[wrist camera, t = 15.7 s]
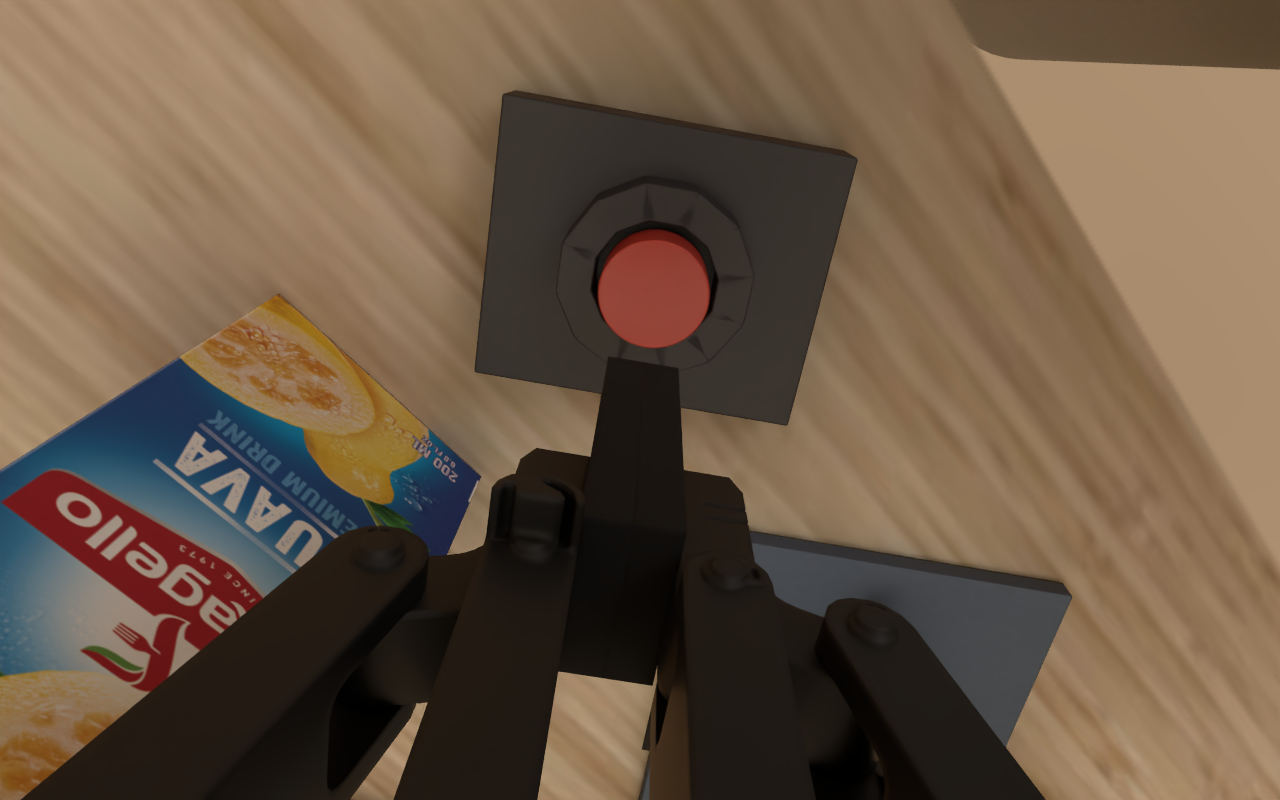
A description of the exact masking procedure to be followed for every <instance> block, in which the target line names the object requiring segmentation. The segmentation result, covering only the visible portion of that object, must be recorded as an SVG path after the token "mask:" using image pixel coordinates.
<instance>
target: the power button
mask: <svg viewBox="0 0 1280 800" xmlns="http://www.w3.org/2000/svg"><path fill="white" fill-rule="evenodd" d="M709 300H710V288H709V281H708V275H707V269H706V266H705V263H704V261H703V258H702V256H701V255H700V253H699V252H698V250H697V249H696V248H695V247H694V246H693V245H692V244H691V243H690V242H689V241H688V240H687V239H685V238H684V237H682V236H680V235H678V234H676V233H674V232H671V231H667V230H662V229H647V230H642V231H638V232H635V233H633V234H631V235H629V236H627V237H625V238H624V239H623V240H621V241H620V242H619V243H618V244H617V245H616V246H615V247H614V248H613V249H612V251H611V252H610V253H609V255H608V257H607V259H606V261H605V264H604V266H603V270H602V273H601V276H600V280H599V284H598V302H599V307H600V310H601V313H602V316H603V318H604V320H605V321H606V323H607V324H608V326H609V327H610V328H611V329H612V331H613V332H615V333H616V334H617V335H618V336H619V337H621V338H622V339H623V340H625V341H627V342H629V343H631V344H634V345H636V346H640V347H645V348H663V347H668V346H672V345H674V344H677V343H679V342H681V341H683V340H684V339H686V338H687V337H689V336H690V335H691V334H692V333H693V332H694V331H695V330H696V329H697V328H698V327H699V325H700V324H701V322H702V321H703V319H704V317H705V315H706V313H707V310H708V306H709Z"/></svg>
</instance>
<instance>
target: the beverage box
mask: <svg viewBox="0 0 1280 800" xmlns="http://www.w3.org/2000/svg"><path fill="white" fill-rule="evenodd" d="M480 478H481V476H480V475H479V474H478V473H477V472H475V471H474V470H473V469H472V468H471V467H470V466H469V465H468V464H467V463H465V462H464V461H463V460H462V459H461V458H460V457H459V456H458V455H457V454H456V453H454V452H453V451H452V450H451V449H450V448H449V447H448V446H447V445H446V444H444V443H443V442H442V441H441V440H440V439H439V438H438V437H437V436H436V435H435V434H433V433H432V432H431V431H430V430H429V429H428V428H427V427H426V426H425V425H423V424H422V423H421V422H420V421H419V420H418V419H417V418H416V417H415V416H413V415H412V414H411V413H410V412H409V411H408V410H407V409H406V408H405V407H404V406H402V405H401V404H400V403H399V402H398V401H397V400H396V399H395V398H394V397H392V396H391V395H390V394H389V393H388V392H387V391H386V390H385V389H384V388H383V387H381V386H380V385H379V384H378V383H377V382H376V381H375V380H374V379H373V378H371V377H370V376H369V375H368V374H367V373H366V372H365V371H364V370H363V369H362V368H360V367H359V366H358V365H357V364H356V363H355V362H354V361H353V360H352V359H350V358H349V357H348V356H347V355H346V354H345V353H344V352H343V351H342V350H341V349H339V348H338V347H337V346H336V345H335V344H334V343H333V342H332V341H331V340H329V339H328V338H327V337H326V336H325V335H324V334H323V333H322V332H321V331H319V330H318V329H317V328H316V327H315V326H314V325H313V324H312V323H311V322H310V321H308V320H307V319H306V318H305V317H304V316H303V315H302V314H301V313H300V312H298V311H297V310H296V309H295V308H294V307H293V306H292V305H291V304H290V303H289V302H287V301H286V300H285V299H284V298H283V297H282V296H281V295H280V294H278V295H276V296H275V297H273V298H272V299H270V300H268V301H267V302H265V303H264V304H262V305H260V306H259V307H257V308H256V309H254V310H253V311H251V312H249V313H248V314H246V315H245V316H243V317H241V318H240V319H238V320H237V321H235V322H234V323H232V324H230V325H229V326H227V327H226V328H224V329H222V330H221V331H219V332H218V333H216V334H215V335H213V336H211V337H210V338H208V339H207V340H205V341H203V342H202V343H200V344H199V345H197V346H196V347H194V348H192V349H191V350H189V351H188V352H186V353H184V354H183V355H181V356H180V357H178V358H177V359H175V360H173V361H172V362H170V363H169V364H167V365H165V366H164V367H162V368H161V369H159V370H158V371H156V372H154V373H153V374H151V375H150V376H148V377H146V378H145V379H143V380H142V381H140V382H139V383H137V384H135V385H134V386H132V387H131V388H129V389H127V390H126V391H124V392H123V393H121V394H120V395H118V396H116V397H115V398H113V399H112V400H110V401H108V402H107V403H105V404H104V405H102V406H101V407H99V408H97V409H96V410H94V411H93V412H91V413H89V414H88V415H86V416H85V417H83V418H82V419H80V420H78V421H77V422H75V423H74V424H72V425H70V426H69V427H67V428H66V429H64V430H63V431H61V432H59V433H58V434H56V435H55V436H53V437H51V438H50V439H48V440H47V441H45V442H44V443H42V444H40V445H39V446H37V447H36V448H34V449H32V450H31V451H29V452H28V453H26V454H25V455H23V456H21V457H20V458H18V459H17V460H15V461H13V462H12V463H10V464H9V465H7V466H6V467H4V468H2V469H1V470H0V800H21V799H22V798H23V797H24V796H25V795H27V794H28V793H29V792H30V791H31V790H33V789H34V788H35V787H36V786H37V785H39V784H40V783H41V782H42V781H43V780H45V779H46V778H47V777H48V776H49V775H51V774H52V773H53V772H54V771H56V770H57V769H58V768H59V767H60V766H62V765H63V764H64V763H65V762H66V761H68V760H69V759H70V758H71V757H72V756H74V755H75V754H76V753H77V752H78V751H80V750H81V749H82V748H83V747H84V746H86V745H87V744H88V743H89V742H90V741H92V740H93V739H94V738H95V737H96V736H98V735H99V734H100V733H101V732H103V731H104V730H105V729H106V728H107V727H109V726H110V725H111V724H112V723H113V722H115V721H116V720H117V719H118V718H119V717H121V716H122V715H123V714H124V713H125V712H127V711H128V710H129V709H130V708H131V707H133V706H134V705H135V704H136V703H137V702H139V701H140V700H141V699H142V698H143V697H145V696H146V695H147V694H148V693H149V692H151V691H152V690H153V689H154V688H156V687H157V686H158V685H159V684H160V683H162V682H163V681H164V680H165V679H166V678H168V677H169V676H170V675H171V674H172V673H174V672H175V671H176V670H177V669H178V668H180V667H181V666H182V665H183V664H184V663H186V662H187V661H188V660H189V659H190V658H192V657H193V656H194V655H195V654H196V653H198V652H199V651H200V650H201V649H202V648H204V647H205V646H206V645H207V644H209V643H210V642H211V641H212V640H213V639H215V638H216V637H217V636H218V635H219V634H221V633H222V632H223V631H224V630H225V629H227V628H228V627H229V626H230V625H231V624H233V623H234V622H235V621H236V620H237V619H239V618H240V617H241V616H242V615H243V614H245V613H246V612H247V611H248V610H249V609H251V608H252V607H253V606H254V605H255V604H257V603H258V602H259V601H260V600H262V599H263V598H264V597H265V596H266V595H268V594H269V593H270V592H271V591H272V590H274V589H275V588H276V587H277V586H278V585H280V584H281V583H282V582H283V581H284V580H286V579H287V578H288V577H289V576H290V575H292V574H293V573H294V572H295V571H296V570H298V569H299V568H300V567H301V566H302V565H304V564H305V563H306V562H307V561H309V560H310V559H311V558H312V557H313V556H315V555H316V554H317V553H318V552H319V551H321V550H322V549H323V548H324V547H325V546H327V545H328V544H329V543H330V542H331V541H333V540H334V539H335V538H337V537H338V536H340V535H342V534H344V533H346V532H347V531H349V530H353V529H357V528H361V527H365V526H376V525H377V526H380V525H381V526H391V527H396V528H402V529H405V530H407V531H409V532H412V533H414V534H416V535H418V536H419V537H420V538H421V539H422V540H423V541H424V542H425V543H426V544H427V547H428V552H429V556H438V555H447V553H448V551H449V549H450V546H451V544H452V542H453V540H454V537H455V535H456V533H457V530H458V528H459V526H460V524H461V521H462V519H463V517H464V514H465V512H466V510H467V508H468V505H469V503H470V501H471V498H472V496H473V494H474V492H475V489H476V487H477V485H478V483H479V480H480Z"/></svg>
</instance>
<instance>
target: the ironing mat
mask: <svg viewBox="0 0 1280 800" xmlns="http://www.w3.org/2000/svg"><path fill="white" fill-rule="evenodd" d="M749 532H750V537H751V543H752V548H753V554H754V559H755V563H757V564H758V565H759V566H760V567H761V568H762V569H764V570H765V571H766V572H767V573H768V575H769V577H770V579H771V581H772V583H773V588H774V593H775V596H777V597H778V598H780V599H781V600H783V601H785V602H786V603H788V604H791V605H793V606H795V607H797V608H800V609H802V610H805V611H808V612H810V613H813V614H816V615H819V616H821V617H824V616H825V613H826V609H827V606H828V605H830V604H831V603H833V602H834V601H836V600H838V599H846V598H858V599H865V600H871V601H874V602H876V603H880V604H883V605H885V606H887V607H888V608H890V609H892V610H893V611H895V612H897V613H898V614H900V615H902V616H903V617H904V618H905V619H906V620H907V621H908V622H909V623H910V624H911V625H912V626H913V627H914V628H915V629H916V630H917V632H918V633H919V634H920V636H921V637H922V638H923V639H924V641H925V642H926V643H927V645H928V646H929V647H930V649H931V650H932V651H933V653H934V654H935V655H936V657H937V658H938V659H939V660H940V662H941V663H942V664H943V666H944V667H945V668H946V670H947V671H948V672H949V674H950V675H951V676H952V678H953V679H954V680H955V682H956V683H957V684H958V685H959V687H960V688H961V689H962V691H963V692H964V693H965V695H966V696H967V697H968V699H969V700H970V701H971V703H972V704H973V705H974V706H975V708H976V709H977V710H978V712H979V713H980V714H981V716H982V717H983V718H984V720H985V721H986V722H987V724H988V725H989V726H990V727H991V729H992V730H993V731H994V733H995V734H996V735H997V737H998V738H999V739H1000V741H1001V742H1002V743H1003V745H1004V746H1005V747H1006V745H1007V742H1008V740H1009V738H1010V736H1011V733H1012V731H1013V729H1014V727H1015V725H1016V722H1017V720H1018V718H1019V716H1020V713H1021V711H1022V709H1023V707H1024V704H1025V702H1026V700H1027V698H1028V695H1029V693H1030V691H1031V689H1032V686H1033V684H1034V682H1035V680H1036V677H1037V675H1038V673H1039V671H1040V669H1041V666H1042V664H1043V662H1044V660H1045V657H1046V655H1047V653H1048V651H1049V648H1050V646H1051V644H1052V642H1053V639H1054V637H1055V635H1056V633H1057V630H1058V628H1059V626H1060V624H1061V621H1062V619H1063V617H1064V615H1065V612H1066V610H1067V608H1068V606H1069V604H1070V601H1071V599H1072V595H1071V594H1070V593H1069V591H1068V590H1067V588H1066V587H1065V586H1064V584H1062V583H1056V582H1050V581H1044V580H1038V579H1032V578H1026V577H1020V576H1014V575H1008V574H1002V573H996V572H990V571H985V570H979V569H973V568H967V567H961V566H955V565H949V564H943V563H937V562H931V561H925V560H919V559H913V558H907V557H901V556H895V555H889V554H883V553H877V552H871V551H865V550H859V549H853V548H847V547H841V546H835V545H829V544H823V543H817V542H811V541H805V540H799V539H793V538H787V537H781V536H775V535H769V534H763V533H757V532H751V531H749ZM649 778H650V753H649V757H648V762H647V766H646V770H645V775H644V779H643V783H642V788H641V792H640V796H639V800H649Z"/></svg>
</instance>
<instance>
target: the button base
mask: <svg viewBox="0 0 1280 800" xmlns="http://www.w3.org/2000/svg"><path fill="white" fill-rule="evenodd" d="M857 161H858V160H857V158H856V157H854V156H852V155H851V154H849V153H847V152H846V151H843V150H838V149H832V148H827V147H821V146H816V145H811V144H805V143H800V142H794V141H789V140H783V139H778V138H772V137H767V136H762V135H756V134H751V133H745V132H740V131H734V130H729V129H723V128H718V127H712V126H707V125H702V124H696V123H691V122H685V121H680V120H674V119H669V118H663V117H658V116H653V115H647V114H642V113H636V112H631V111H625V110H620V109H614V108H609V107H603V106H598V105H593V104H587V103H582V102H576V101H571V100H565V99H560V98H554V97H549V96H544V95H538V94H533V93H527V92H522V91H516V90H515V91H512V92H508V93H505V94H503V97H502V107H501V116H500V126H499V136H498V146H497V155H496V165H495V175H494V185H493V195H492V204H491V214H490V224H489V234H488V243H487V253H486V263H485V273H484V282H483V292H482V302H481V312H480V321H479V331H478V341H477V351H476V360H475V372H477V373H483V374H489V375H495V376H500V377H506V378H512V379H518V380H524V381H529V382H535V383H541V384H547V385H553V386H559V387H564V388H570V389H576V390H582V391H588V392H594V393H599V394H602V389H603V383H604V378H605V372H606V366H607V361H608V356H611V357H617V358H623V359H629V360H634V361H640V362H646V363H652V364H658V365H664V366H670V367H676V368H679V388H680V407H681V408H687V409H693V410H699V411H704V412H710V413H716V414H722V415H728V416H733V417H739V418H745V419H751V420H757V421H763V422H768V423H774V424H780V425H788V422H789V419H790V415H791V411H792V407H793V403H794V400H795V396H796V392H797V388H798V384H799V381H800V377H801V373H802V369H803V365H804V362H805V358H806V354H807V350H808V346H809V343H810V339H811V335H812V331H813V328H814V324H815V320H816V316H817V312H818V309H819V305H820V301H821V297H822V293H823V290H824V286H825V282H826V278H827V274H828V271H829V267H830V263H831V259H832V255H833V252H834V248H835V244H836V240H837V236H838V233H839V229H840V225H841V221H842V218H843V214H844V210H845V206H846V202H847V199H848V195H849V191H850V187H851V183H852V180H853V176H854V172H855V168H856V164H857ZM647 229H662V230H667V231H671V232H674V233H676V234H678V235H680V236H682V237H684V238H685V239H687V240H688V241H689V242H690V243H691V244H692V245H693V246H694V247H695V248H696V249H697V250H698V252H699V253H700V255H701V256H702V258H703V261H704V263H705V266H706V269H707V275H708V281H709V288H710V300H709V306H708V310H707V313H706V315H705V317H704V319H703V321H702V322H701V324H700V325H699V327H698V328H697V329H696V330H695V331H694V332H693V333H692V334H691V335H690V336H689V337H687V338H686V339H684V340H683V341H681V342H679V343H677V344H674V345H672V346H668V347H663V348H645V347H640V346H636V345H634V344H631V343H629V342H627V341H625V340H623V339H622V338H621V337H619V336H618V335H617V334H616V333H615V332H613V331H612V329H611V328H610V327H609V326H608V324H607V323H606V321H605V320H604V318H603V316H602V313H601V310H600V307H599V302H598V284H599V280H600V276H601V273H602V270H603V266H604V264H605V261H606V259H607V257H608V255H609V253H610V252H611V251H612V249H613V248H614V247H615V246H616V245H617V244H618V243H619V242H620V241H621V240H623V239H624V238H625V237H627V236H629V235H631V234H633V233H635V232H638V231H642V230H647Z"/></svg>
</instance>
